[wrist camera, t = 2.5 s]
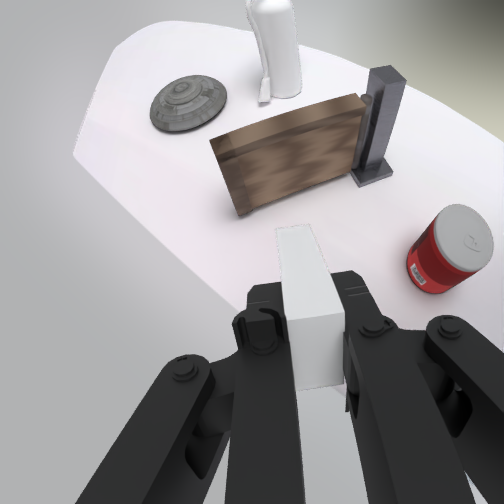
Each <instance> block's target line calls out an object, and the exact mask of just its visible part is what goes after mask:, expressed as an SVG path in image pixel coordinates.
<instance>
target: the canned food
mask: <svg viewBox="0 0 504 504" xmlns="http://www.w3.org/2000/svg"><path fill="white" fill-rule="evenodd" d="M493 245H494V244H493V237H492V234H491V231H490V229H489V226H488V225H487V223H486V222H485V220H484V219H483V218H482V217H481V215H480V214H478V213H477V212H476V211H475V210H473V209H472V208H470V207H467V206H465V205H460V204H453V205H449V206H447V207H445V208H444V209H443V210H442V211H441V212H440V213H439V214H438V215H437V216H436V217H435V218H434V220H433V221H432V222H431V224H430V225H429V226H428V227H427V229H426V230H425V231H424V232H423V234H422V235H421V236H420V237H419V239H418V240H417V241H416V242H415V243H414V245H413V246H412V247H411V249H410V251H409V254H408V259H407V267H408V272H409V275H410V277H411V279H412V280H413V282H414V283H415V284H416V285H417V286H418V287H419V288H420V289H422V290H424V291H426V292H429V293H442V292H445V291H447V290H449V289H451V288H452V287H454V286H456V285H457V284H459V283H460V282H462V281H464V280H465V279H467V278H469V277H470V276H472V275H473V274H475V273H476V272H478V271H479V270H481V269H482V268H483V267H485V265H487V263H488V262H489V261H490V259H491V257H492V254H493Z"/></svg>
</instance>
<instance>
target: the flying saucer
mask: <svg viewBox="0 0 504 504" xmlns="http://www.w3.org/2000/svg"><path fill="white" fill-rule="evenodd" d="M226 97H227V92H226V89H225V87H224V85H223V84H222V83H220V82H219V81H218V80H216V79H214V78H211V77H208V76H202V75H192V76H186V77H183V78H180V79H177V80H175V81H173V82H171V83H170V84H168V85H167V86H165V87H164V88H163V89H162V90H161V91H160V92H159V93H158V94H157V96H156V97H155V99H154V101H153V103H152V105H151V108H150V119H151V121H152V123H153V124H154V125H155V126H156V127H158V128H160V129H162V130H167V131H181V130H187V129H190V128H193V127H196V126H199V125H201V124H203V123H205V122H206V121H208V120H209V119H211V118H212V117H213V116H215V115H216V114H217V113H218V112H219V111H220V110H221V108H222V107H223V105H224V103H225V101H226Z"/></svg>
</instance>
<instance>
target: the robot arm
mask: <svg viewBox="0 0 504 504" xmlns="http://www.w3.org/2000/svg"><path fill="white" fill-rule="evenodd" d="M275 230H276V238H277V247H278V256H279V265H280V274H281V282H275V283H268V284H260V285H254V286H253V287H252V289H251V290H250V291H249V292H248V294H247V307H246V310H243V311H241V312H240V313H239V314H238V315H237V316H236V317H235V318H234V320H233V322H232V327H233V330H234V334H235V338H236V342H237V346H238V351H237V352H235V353H234V354H232V355H231V356H229V357H227V358H225V359H222V360H219V361H216V362H212V363H209V362H208V361H207V360H206V359H205V358H204V357H202V356H199V355H195V354H192V355H183V356H180V357H176V358H175V359H173V360H171V361H170V362H168V363H167V364H166V366H165V367H164V368H163V369H162V370H161V372H160V373H159V375H158V376H157V378H156V379H155V381H154V383H153V384H152V386H151V387H150V389H149V390H148V392H147V393H146V395H145V396H144V398H143V399H142V401H141V402H140V404H139V405H138V407H137V408H136V410H135V412H134V413H133V415H132V416H131V418H130V419H129V421H128V422H127V424H126V425H125V427H124V428H123V430H122V431H121V433H120V435H119V436H118V438H117V439H116V441H115V442H114V444H113V445H112V447H111V448H110V450H109V452H108V453H107V455H106V456H105V458H104V459H103V461H102V462H101V464H100V465H99V467H98V469H97V470H96V472H95V473H94V475H93V476H92V478H91V480H90V481H89V483H88V484H87V486H86V488H85V489H84V490H83V492H82V494H81V495H80V497H79V498H78V500H77V502H76V503H75V504H203V502H204V499H205V497H206V494H207V492H208V489H209V487H210V485H211V482H212V480H213V478H214V475H215V473H216V470H217V468H218V465H219V463H220V461H221V458H222V456H223V453H224V451H225V448H226V446H227V443H228V441H229V438H230V447H229V458H228V469H227V480H226V492H225V504H306V502H305V489H304V477H303V464H302V452H301V441H300V430H299V420H298V409H297V399H296V391H299V390H307V389H314V388H321V387H327V386H334V385H340V384H344V376H345V380H346V383H347V393H346V410H345V412H349V410H350V414H351V419H352V423H353V428H354V432H355V437H356V442H357V446H358V451H359V456H360V461H361V465H362V470H363V475H364V481H365V486H366V491H367V497H368V502H369V504H476V503H475V500H474V497H473V494H472V491H471V488H470V485H469V483H468V480H467V477H466V474H467V475H468V476H469V478H470V479H471V480H472V482H473V483H474V485H475V486H476V487H477V489H478V490H479V492H480V493H481V494H482V496H483V497H484V498H485V500H486V501H487V503H488V504H504V353H503V352H502V351H501V350H499V349H498V348H497V347H496V346H495V345H494V344H493V343H491V342H490V341H489V340H488V339H487V338H486V337H484V336H483V335H482V334H481V333H480V332H478V331H477V330H476V329H475V328H474V327H472V326H471V325H470V324H469V323H468V322H466V321H465V320H463V319H461V318H460V317H456V316H452V315H441V316H438V317H435V318H433V319H432V320H431V321H429V323H428V325H427V327H426V330H404V329H400V328H398V326H397V325H396V323H395V322H394V321H393V320H392V319H390V318H388V317H386V316H383V315H382V314H381V312H380V310H379V308H378V306H377V305H376V303H375V301H374V299H373V297H372V295H371V293H369V290H368V288H367V286H366V284H365V282H364V280H363V279H362V277H361V276H360V275H358V274H357V273H355V272H354V271H352V270H351V271H345V272H338V273H331V274H330V272H329V270H328V267H327V265H326V262H325V260H324V257H323V255H322V252H321V250H320V247H319V245H318V243H317V240H316V238H315V235H314V233H313V231H312V228H311V226H310V224H306V225H299V226H292V227H285V228H278V229H275ZM464 471H465V472H466V474H465V472H464Z"/></svg>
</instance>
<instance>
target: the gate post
mask: <svg viewBox="0 0 504 504" xmlns="http://www.w3.org/2000/svg"><path fill="white" fill-rule="evenodd" d="M405 84H406V79H405V78H404V77H402V76H401V75H400V74H399V73H398V72H397V71H396V70H395V69H394V68H393V67H392V66H391V65H388V66H383V67H377V68H372V69H370V72H369V79H368V85H367V91H366V94H368V95H370V96H371V97H372V98H373V100H372V105H371V110H370V115H369V120H368V124H367V129H366V133H365V138H364V142H363V147H362V151H361V155H360V159H359V164H358V167H357V168H356V169H352V168H351V172H350V174H351V175H352V177H353V178H354V180H355V181H356V183H357V185H358V186H359V187H362V186H365V185H367V184H370V183H373V182H375V181H378V180H381V179H383V178H386V177H389V176H391V175H392V174H393V170H392V169H391V167H390V166H389V164H388V163H387V162H386V160H385V159H384V154H385V151H386V148H387V145H388V142H389V139H390V136H391V133H392V129H393V126H394V123H395V120H396V116H397V113H398V109H399V106H400V102H401V99H402V95H403V92H404V88H405Z"/></svg>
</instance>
